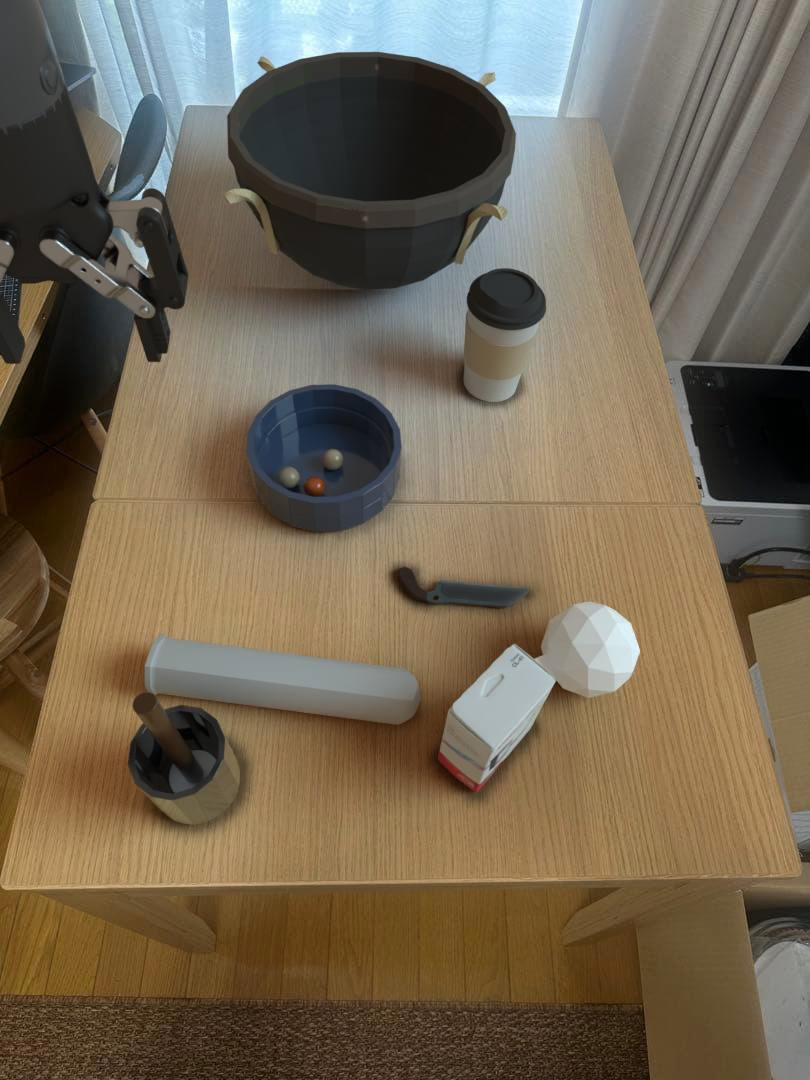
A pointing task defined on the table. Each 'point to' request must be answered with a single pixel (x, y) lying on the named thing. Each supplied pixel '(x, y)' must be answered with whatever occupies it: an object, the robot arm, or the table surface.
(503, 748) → the ink box
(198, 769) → the brown handled pestle
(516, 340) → the coffee cup
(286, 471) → the bead
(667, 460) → the table surface
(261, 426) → the mixing bowl
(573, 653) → the light bulb
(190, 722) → the holder
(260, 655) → the tube
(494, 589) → the knife
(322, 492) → the bead
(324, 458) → the bead
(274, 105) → the bowl
